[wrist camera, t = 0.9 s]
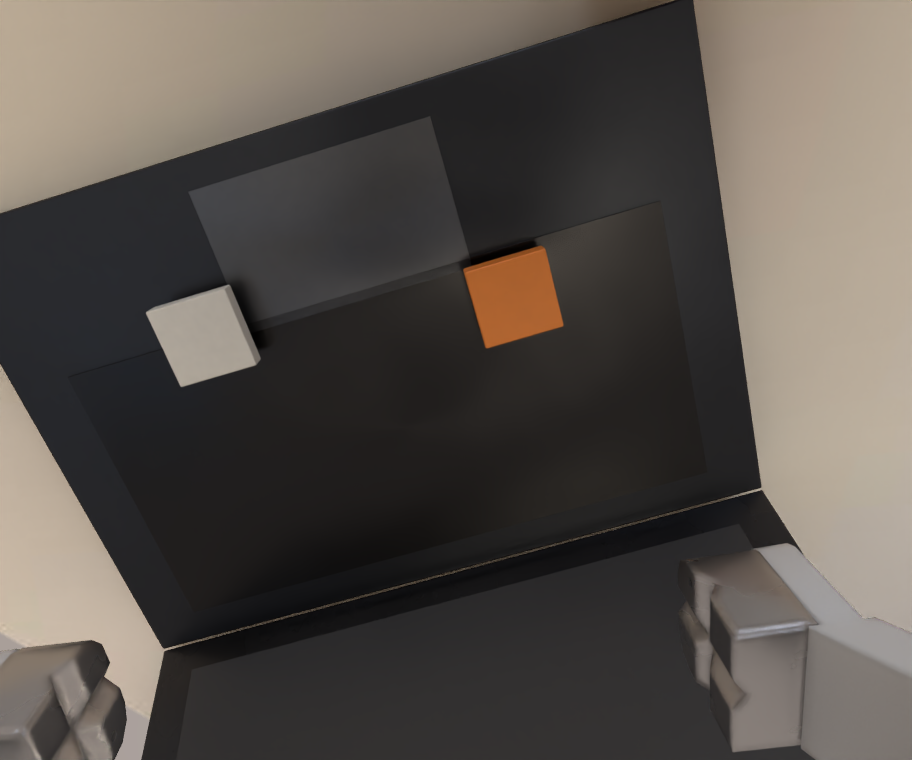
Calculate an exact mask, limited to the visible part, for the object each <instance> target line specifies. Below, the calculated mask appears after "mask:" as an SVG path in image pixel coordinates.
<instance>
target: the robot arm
mask: <svg viewBox="0 0 912 760" xmlns="http://www.w3.org/2000/svg"><path fill="white" fill-rule="evenodd" d="M678 586H679V588H680V590H681V592H682V593H683V595H684V597H685V599H686V602H685V603H684V604H683V606H682V607H681V609H680V610H679V611H678V617H679V633H680V638H681V643H682V648H683V652H684V655H685V658H686V661H687V663H688V666H689V668H690V670H691V672H692V675H693V677H694V679H695V681H696V682H697V683H698V684H700V685H701V686H703V687H705V688H706V689H708V690H709V691H710V710H711V712H712V714H713V716H714V718H715V720H716V722H717V723H718V725H719V727H720V729H721V731H722V733H723V735H724V737H725V739H726V741H727V743H728V745H729V747H730V748H731V750H732V752H739V751H749V750H758V749H767V748H777V747H786V746H795V745H801V749H802V750H803V751H805V752H806V753H807V754H809V755H810V756H811V757H813V758H814V759H815V760H912V633H911V632H908V631H906V630H904V629H901V628H899V627H897V626H894V625H892V624H890V623H887V622H885V621H883V620H880V619H878V618H868V619H863V618H862V616H861V615H860V614H859V613H858V612H857V611H856V610H855V609H854V608H853V607H852V606H851V605H850V604H849V603H848V602H847V601H846V600H845V599H844V598H843V596H842V595H841V594H840V593H839V592H838V591H837V590H836V589H835V588H834V587H833V586H832V585H831V584H830V583H829V582H828V581H827V580H826V579H825V578H824V576H823V575H822V574H821V573H820V572H819V571H818V570H817V569H816V568H815V567H814V566H813V565H812V564H811V563H810V562H809V561H808V560H807V559H806V558H805V556H804V555H803V554H802V553H801V552H800V551H799V550H798V549H797V548H796V547H795V546H793V545H790V544H788V543H784V544H778V545H772V546H766V547H760V548H754V549H751V550H750V551H743V552H736V553H729V554H722V555H714V556H707V557H700V558H693V559H686V560H680V563H679V567H678ZM109 664H110V662H109V659H108V657H107V655H106V653H105V650H104V648H103V646H102V644H100V643H98V642H95V641H92V640H89V641H80V642H71V643H62V644H53V645H45V646H36V647H27V648H22V649H12V650H5V651H0V760H114V759H115V757H116V755H117V753H118V751H119V749H120V747H121V744H122V742H123V737H124V732H125V726H126V721H127V718H126V709H125V701H124V698H123V696H122V693H121V690H120V688H119V687H118V686H116V685H115V684H113V683H112V682H110V681H109V680H108V679H106V678H105V677H104V675H105V673H106V671H107V669H108V666H109Z"/></svg>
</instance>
